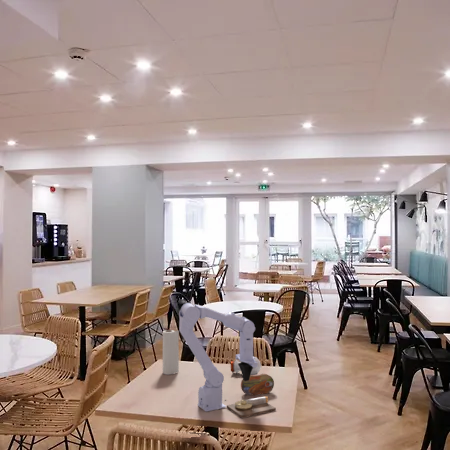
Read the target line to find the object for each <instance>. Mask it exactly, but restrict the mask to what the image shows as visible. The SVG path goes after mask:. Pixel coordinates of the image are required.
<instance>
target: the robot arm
mask: <svg viewBox="0 0 450 450" xmlns="http://www.w3.org/2000/svg"><path fill="white" fill-rule="evenodd" d="M178 316H179V327H178V328H179V330H178V331H179V334H180V335H181V336H182V338H183V339H184V340H185V342H186V344H187V345H188V347H189V349H190V351H191V352H192V355H194V356H195V359H196V360H197V362H198V363H199V366H200V367H201V369H202V371H203V376H204V378H205V381H204V385H202V386H200V387H199V388H198V398H197V399H198V402H197V403H198V404H197V406H198V407H199V408H200V409H202V410H203V411H204V412H211V411H216V410H219V409H221V410H222V409H225V408H227V405H225V404H224V403H223V383H224V381H225V380H224V378H225V377H224V374H223V373H222V372H221V371H219V369H218V368H217V367H216V366H215V365H214V363H213V362H212V360H211V358H210V357H209V355H208V353H207V352H206V350H205V348H204V347H203V345H202V343H201V342H200V340H199V339H198V336H197V335H196V333H195V332H194V327H195V324H196V323H197V322H198V320H199V319H201V320H202V319H205V318H208V319H212V320H215V321H219V322H221V323H222V325H223V326H224V327H227V328H230V329H231V330H235V331H237V332H239V353H237V354H235V360H236V359H237V360H238V361H239V362H241V363H238V365H239V367H240V369H241V371H240V372H241V375H242V379H243V380H244V381H248V380H249V379H250V375H251V371H252V369H253V368H255V367H258V362H256V361H255V360H254V359H255V357H256V356H254V332H255V331H256V327H255V324H254V322H253V321H252V320H250V319H248V318H247V317H245V316H239V315H237V314H236V313H234V312H232V311H231V312H227V313H225V314H224V313H223V312H222V313H221V312H218V311H216V310H214V309H211V308H209V307H206V306H205V305H204V306H203V305H199V304H196V303H195V304H193V303H191V302H186V303H183V305H182V306H181V308H180V309H179V313H178ZM253 356H254V357H253Z"/></svg>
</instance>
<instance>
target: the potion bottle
mask: <svg viewBox="0 0 450 450" xmlns="http://www.w3.org/2000/svg"><path fill="white" fill-rule="evenodd" d="M253 357H255V359H254V360H255V361H256V362H258V367H255V368H253V369H252V371H251V375H258V373H259V372H260V370H261V368H262V364H261V361H260V360H259V358H258V357H256V356H254V355H253ZM238 363H241V361H239V360H237V359H236V358H235V360H231V361H230V372H231V373H232V374H234V373H236V374H238V373H239V372H241V369H240V367H239V365H238Z"/></svg>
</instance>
